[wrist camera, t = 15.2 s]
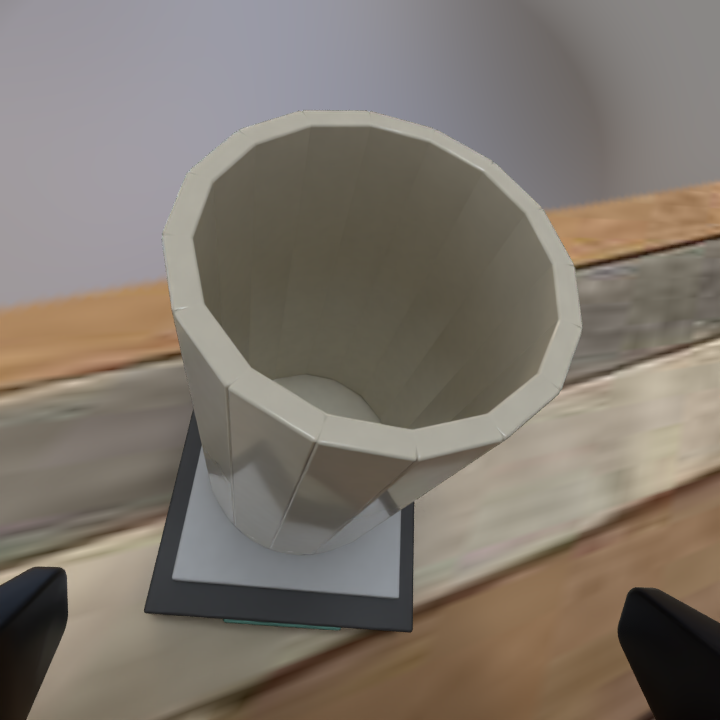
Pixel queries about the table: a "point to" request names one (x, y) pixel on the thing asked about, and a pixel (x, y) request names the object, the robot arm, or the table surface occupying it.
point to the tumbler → (358, 318)
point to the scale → (275, 567)
